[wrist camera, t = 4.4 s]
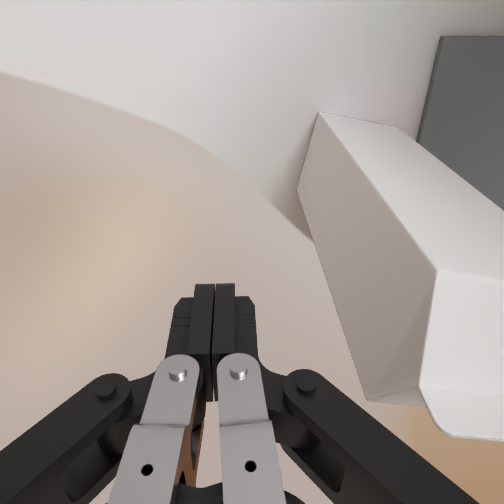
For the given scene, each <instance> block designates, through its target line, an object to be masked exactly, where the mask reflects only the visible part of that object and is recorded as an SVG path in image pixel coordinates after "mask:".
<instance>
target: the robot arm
mask: <svg viewBox="0 0 504 504" xmlns="http://www.w3.org/2000/svg"><path fill="white" fill-rule="evenodd" d="M213 389H214V395H215V401H218V403H219V422H220V443H221V462H222V463H221V464H222V482H221V483H218V484H214V485H211V486H208V487H205V488H196V476H197V469H198V462H199V455H200V448H201V442H202V435H203V429H204V417H205V411H206V402H212V401H213ZM276 442H277V443H280V444H281V447H282V449H283V450H284V451H285V452H286V454H287V455H288V456H289V457H290V458H291V459H292V460H293V461H294V462H295V463H296V464H297V465H298V466H299V467H300V468H301V469H302V470H303V472H305V474H306V475H307V476H308V477H309V478H310V479H311V480H312V481H313V482H314V483H315V484H316V485H317V486H318V487H319V488H320V489H321V491H322V492H323V493H324V494H325V495H326V496H327V497H328V498H329V499H330V500H331V501H332V502H333V503H334V504H479V503H478V502H477V501H475V500H474V499H473V498H472V497H471V496H469V495H468V494H467V493H466V492H464V491H463V490H462V489H461V488H459V487H458V486H457V485H456V484H454V483H453V482H452V481H451V480H450V479H448V478H447V477H446V476H445V475H443V474H442V473H441V472H440V471H438V470H437V469H436V468H435V467H434V466H432V465H431V464H430V463H429V462H427V461H426V460H425V459H424V458H422V457H421V456H420V455H419V454H417V453H416V452H415V451H414V450H413V449H411V448H410V447H409V446H408V445H406V444H405V443H404V442H403V441H401V440H400V439H399V438H398V437H397V436H395V435H394V434H393V433H391V432H390V431H389V430H388V429H387V428H385V427H384V426H383V425H382V424H381V423H379V422H378V421H377V420H376V419H374V418H373V417H372V416H371V415H369V414H368V413H367V412H366V411H365V410H363V409H362V408H361V407H360V406H358V405H357V404H356V403H355V402H353V401H352V400H351V399H350V398H349V397H347V396H346V395H345V394H344V393H342V392H341V391H340V390H339V389H337V388H336V387H335V386H334V385H332V384H331V383H330V382H329V381H328V380H326V379H325V378H324V377H323V376H321V375H320V374H319V373H316V372H315V371H312V370H308V369H300V370H295V371H293V372H291V373H290V374H289V375H288V376H284V375H280V374H276V373H273V372H271V371H269V370H268V369H266V368H265V367H264V366H263V365H262V364H261V362H260V361H259V358H258V349H257V334H256V320H255V305H254V304H253V302H252V301H251V299H250V298H249V297H248V296H240V297H239V296H238V297H235V284H234V283H227V284H216V290H215V284H196V285H195V291H194V297H193V298H191V297H190V298H181V299H180V300H179V302H178V303H177V304H176V306H175V307H174V312H173V319H172V323H171V328H170V334H169V338H168V344H167V349H166V355H165V359H164V360H163V361H162V362H161V363H160V364H159V365H158V367H157V369H156V371H155V372H153V373H152V374H150V375H148V376H146V377H143V378H140V379H136V380H133V381H128V379H127V378H126V377H125V376H123V375H120V374H116V373H111V374H105V375H102V376H100V377H98V378H96V379H94V380H93V381H92V382H90V383H89V384H88V385H86V386H85V387H84V388H82V389H81V390H80V391H79V392H77V393H76V394H74V395H73V396H72V397H70V398H69V399H68V400H67V401H65V402H64V403H63V404H61V405H60V406H59V407H57V408H56V409H55V410H54V411H52V412H51V413H50V414H48V415H47V416H46V417H44V418H43V419H42V420H40V421H39V422H38V423H37V424H35V425H34V426H33V427H31V428H30V429H29V430H27V431H26V432H25V433H23V434H22V435H21V436H20V437H18V438H17V439H16V440H14V441H13V442H12V443H10V444H9V445H8V446H7V447H5V448H4V449H3V450H1V451H0V504H89V503H90V502H91V501H92V500H93V499H94V498H95V497H96V496H97V495H98V494H99V493H100V492H101V491H102V490H103V489H104V488H105V487H106V486H107V485H108V484H109V483H110V482H111V481H112V480H113V479H114V478H115V477H116V478H115V481H114V484H113V487H112V491H111V493H110V497H109V500H108V503H106V504H305V503H304V502H303V501H301V500H300V499H299V498H297V497H296V496H294V495H292V494H291V493H289V492H287V491H284V488H283V483H282V477H281V471H280V465H279V460H278V454H277V448H276Z"/></svg>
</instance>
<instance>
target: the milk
mask: <svg viewBox="0 0 504 504" xmlns="http://www.w3.org/2000/svg"><path fill="white" fill-rule="evenodd" d="M297 193H298V196H299V199H300V202H301V205H302V208H303V211H304V214H305V217H306V220H307V223H308V226H309V229H310V232H311V235H312V238H313V241H314V244H315V247H316V250H317V253H318V256H319V259H320V262H321V265H322V268H323V271H324V274H325V277H326V280H327V283H328V286H329V289H330V292H331V295H332V298H333V301H334V304H335V307H336V310H337V313H338V316H339V319H340V322H341V325H342V328H343V332H344V334H345V338H346V340H347V344H348V347H349V350H350V353H351V356H352V358H353V362H354V365H355V368H356V371H357V374H358V377H359V380H360V383H361V386H362V389H363V392H364V395H365V398H366V400H367V401H371V402H381V403H391V404H402V405H413V406H422V407H426V408H427V409H428V412H429V414H430V416H431V418H432V420H433V422H434V423H435V425H436V426H437V427H438V429H439V430H440V431H442V432H443V433H444V434H446V435H448V436H450V437H456V438H467V439H479V440H490V441H502V442H504V211H503V210H502V209H501V208H500V207H498V206H497V205H496V204H494V203H493V202H492V201H491V200H489V199H488V198H487V197H486V196H484V195H483V194H482V193H481V192H479V191H478V190H477V189H475V188H474V187H473V186H472V185H470V184H469V183H468V182H467V181H465V180H464V179H463V178H461V177H460V176H459V175H458V174H456V173H455V172H454V171H453V170H451V169H450V168H449V167H448V166H446V165H445V164H444V163H442V162H441V161H440V160H439V159H437V158H436V157H435V156H434V155H432V154H431V153H430V152H429V151H427V150H426V149H425V148H423V147H422V146H421V145H420V144H418V143H417V142H416V141H415V140H413V139H412V138H411V137H409V136H408V135H407V134H406V133H404V132H403V131H402V130H401V129H399V128H397V127H392V126H387V125H382V124H377V123H372V122H367V121H363V120H358V119H353V118H348V117H343V116H338V115H333V114H328V113H323V112H319V113H318V115H317V119H316V122H315V126H314V130H313V133H312V137H311V140H310V144H309V147H308V151H307V154H306V158H305V162H304V165H303V169H302V172H301V176H300V179H299V183H298V187H297Z"/></svg>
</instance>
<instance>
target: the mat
mask: <svg viewBox="0 0 504 504" xmlns="http://www.w3.org/2000/svg"><path fill="white" fill-rule="evenodd" d="M417 143H418V144H420V145H421V146H422V147H423V148H425V149H426V150H427V151H429V152H430V153H431V154H432V155H434V156H435V157H436V158H437V159H439V160H440V161H441V162H442V163H444V164H445V165H446V166H448V167H449V168H450V169H451V170H453V171H454V172H455V173H456V174H458V175H459V176H460V177H461V178H463V179H464V180H465V181H467V182H468V183H469V184H470V185H472V186H473V187H474V188H475V189H477V190H478V191H479V192H481V193H482V194H483V195H484V196H486V197H487V198H488V199H489V200H491V201H492V202H493V203H494V204H496V205H497V206H498V207H500V208H501V209H502V210H503V211H504V36H441V38H440V43H439V47H438V51H437V56H436V60H435V64H434V69H433V73H432V77H431V82H430V86H429V90H428V95H427V99H426V103H425V108H424V112H423V116H422V121H421V125H420V129H419V134H418V138H417Z"/></svg>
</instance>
